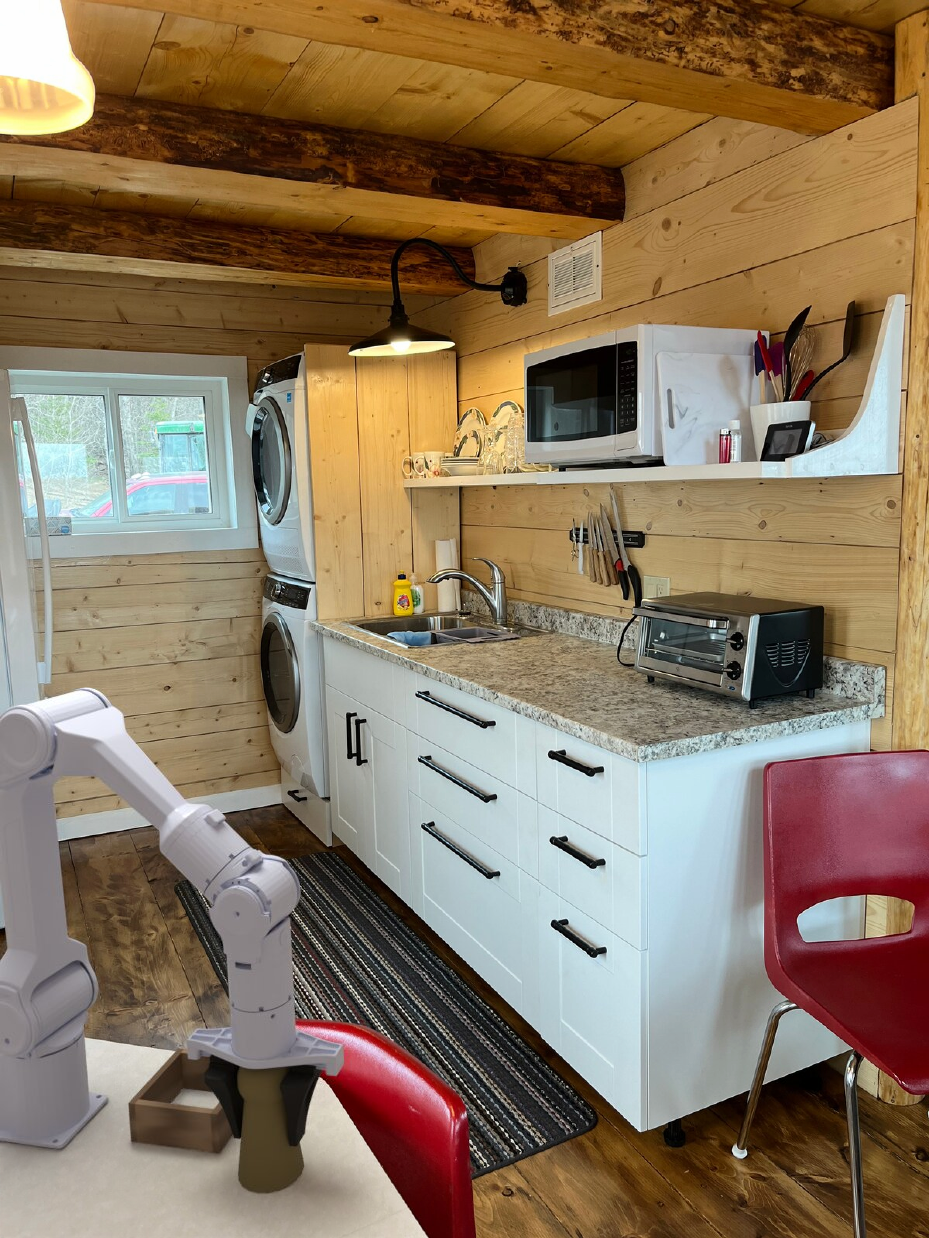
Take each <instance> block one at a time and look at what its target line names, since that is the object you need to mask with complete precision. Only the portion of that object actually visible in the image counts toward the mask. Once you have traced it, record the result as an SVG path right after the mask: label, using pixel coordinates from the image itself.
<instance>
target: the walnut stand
mask: <svg viewBox="0 0 929 1238" xmlns="http://www.w3.org/2000/svg"><path fill="white" fill-rule="evenodd" d="M209 1063H210V1057H206V1056H201V1058H200V1059H198V1060H193V1059H188V1051H187V1048H180V1047H179V1048H177V1049H176V1050H175V1052H173V1054H172V1055H171V1056H170V1057H169V1058H168V1059H167V1060H166V1061H165V1062H164V1063H163V1064H162V1066H160V1068H159V1069H158V1070H157V1071H156V1072H155V1073H154V1074H153V1075H152V1077H151V1078H149V1080H147V1082H146V1083H145V1084H144V1085H143V1086H142V1087H141V1089H140V1090H139V1091H137V1093H136V1094H135V1095H134V1096H133V1097H132V1098H131V1099H130V1101H129V1102H128V1103H127V1105H128V1117H129V1131H130V1141H131V1142H134V1143H142V1144H147V1145H156V1146H160V1147H161V1146H162V1147H167V1148H168V1147H169V1148H177V1149H184V1150H185V1149H186V1150H189V1151H190V1150H192V1151H197V1152H206V1153H213V1154H220V1153H221V1152H222V1151H223V1149H224V1148H225V1146H226V1145H227V1144H228V1143H229V1141H230V1140H231V1138H232V1137H233V1134H232V1131H231V1128H230V1125H229V1122H228V1120H227V1117H226V1115H225V1112H224V1110H223V1108H222V1106H221V1104H220V1102H219V1101H218V1102H217V1104H216V1106H214V1108H209V1107H202V1106H201V1107H200V1106H194V1105H185V1104H177V1103H172V1102H173V1101H174V1100H175V1098H176V1097H177V1096H178V1095H179V1094H180V1093H181V1092H182V1090H183V1089H189V1090H195V1091H202V1092H203V1091H204V1092H212V1091H211V1089H210V1088H209V1087H208V1086H207V1085H206V1084H205V1082H204V1073H205V1071H206V1070H207V1069H208V1068H209ZM212 1093H213V1092H212Z"/></svg>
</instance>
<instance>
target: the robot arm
mask: <svg viewBox="0 0 929 1238" xmlns="http://www.w3.org/2000/svg"><path fill="white" fill-rule="evenodd" d="M62 777H95V778H97V779H99V780H100V781H101V782H102V783H103V784H104V785H105V786H107V787H108V788H109V789H110V790H111V791H112V792H114V793H115V794H116V795H117V796H118V797H119V798H121V800H123V801H124V802H125V803H126V804H127V805H129V806H130V807H131V808H132V809H133V810H134V811H135V812H137V813H138V814H139V815H140V816H141V817H143V818H144V819H145V820H146V821H147V822H148V823H150V825H152V826H153V827H155V828H156V829H157V831H159V851H160V853H161V854H162V856H164V857H165V858H166V859H167V860H168V861H169V862H170V863H171V864H172V865H173V866H174V867H175V868H176V869H177V870H178V871H179V872H180V873H181V874H182V875H183V876H184V877H185V878H186V879H187V880H188V882H190V883H191V884H192V885H193V886H194V887H195V888H196V889H197V890H198V891H199V892H200V893H201V895H203V896H204V897H205V898H206V899H207V900H208V901H209V902H210V903H211V904H212V907H210V908H208V912H209V913H208V914H209V917H210V920H211V923H212V925H213V927H214V928H215V930H216V931H217V933H218V934H219V936H220V937H221V940H222V945H223V946H222V947H223V954H224V955H225V956H226V966H227V979H228V980H227V981H228V982H227V984H228V998H229V999H228V1001H229V1017H230V1026H229V1027H220V1028H218V1027H217V1028H196V1029H195V1030H194V1032H192V1034H191V1035H189V1037H188V1038H187V1039H186V1047H187V1048H186V1049H187V1051H188V1059H193V1060H198V1059H200V1058H201V1056H206V1057H210V1063H209V1068H208V1069H207V1070H206V1071H205V1073H204V1082H205V1084H206V1085H207V1086H208V1087H209V1088H210V1089H211V1091H212V1093H213V1094H214V1096H215V1097H216V1099H217V1100H218V1103H219V1102H220V1104H221V1106H222V1108H223V1110H224V1112H225V1115H226V1117H227V1120H228V1122H229V1125H230V1128H231V1131H232V1134H233V1135H232V1137H233V1138H234V1139H236V1140H241V1131H242V1118H243V1106H244V1098H243V1097H242V1096H241V1094H240V1092H239V1090H238V1084H237V1074H238V1070H239V1068H240V1066H241V1067H244V1068H248V1069H266V1068H276V1067H286V1066H290V1067H291V1070H290V1072H288V1073H287V1075H286V1076H285V1078H284V1079H283V1081H282V1082H281V1084H280V1090H281V1093H282V1095H283V1099H284V1102H285V1107H286V1112H287V1123H288V1140H289V1145H290V1146H295V1147H296V1146H298V1144H299V1143H300V1144H301V1141H302V1139H303V1137H304V1136H305V1134H306V1126H307V1120H308V1115H309V1110H310V1106H311V1102H312V1098H313V1095H314V1092H315V1089H316V1086H317V1083H318V1081H319V1079H320V1076H321V1074H322V1071H325V1074H326V1076H331V1077H332V1076H333V1077H334V1076H335V1077H337V1075H338V1074H339V1072H340V1071H341V1069H343V1066H344V1064H345V1058H344V1055H345V1054H344V1044H343V1043H339V1042H332V1041H330V1040H325V1039H323V1038H320V1037H319V1036H315V1035H312V1034H310V1033H307V1032H304V1031H302V1030H298V1029H297V1027H296V1014H295V1013H296V1012H295V1010H296V1009H295V992H294V987H295V986H294V972H293V971H294V970H293V968H294V967H293V951H292V950H293V949H292V948H293V946H292V932H291V931H292V930H291V917H289V915H290V914H291V913H292V912H293V910H294V909H295V908H296V907H297V905H298V904H299V901H300V900H301V899H300V898H301V885H300V881H299V878H298V876H297V873H296V872H295V870H293V868H292V867H291V866H290V864H289V863H288V861H287V860H286V859H284V858H282V857H281V856H277V855H274V854H265V853H263V852H262V850H260V849H258V850H257V849H256V848H255V849H254V848H253V847H251V845H250V844H249V843H247V841H245V840H244V838H243V837H241V835H239V834H238V833H237V831H235V830H234V829H233V827H231V825H230V824H228V823H227V822H226V821H225V820H226V818H227V817H226V816H225V815H224V814H223V812H221V811H220V810H219V809H218V808H215V809H213V808H212V807H211V806H210V805H208V804H206V803H205V804H204V803H200V804H199V803H189V802H187V800H186V799H185V798H184V797H183V796H182V794H180V792H179V791H178V790H177V789H176V788H175V787H174V785H173V784H172V783H171V782H170V781H169V780H168V778H167V777H166V776H165V775H164V774H163V773H162V771H160V769H159V768H158V767H157V766H156V764H154V762H153V761H152V760H151V759H150V758H149V757H148V756H147V755H146V753H145V752H144V751H143V750H142V749H141V747H140V746H139V745H138V744H137V742H135V741H134V739H133V738H132V737H131V736H130V735H129V734H128V732H127V729H126V724H125V716H124V714H123V712H122V711H120V710H119V709H118V708H117V707H115V706H114V705H112V704H111V702H110V700H109V699H108V698H107V697H106V696H105V695H104V694H103V693H102V692H101V691H100V690H97V689H94V688H92V687H81V688H78V689H77V688H76V689H73V691H71V692H68V693H64V694H60V695H57V696H52V697H50V698H45V699H43V700H38V701H35V702H31V703H26V704H19V705H13V706H10V707H9V708H7V709H6V710H5V711H3V713H1V714H0V893H1V894H0V895H1V901H2V910H3V920H4V921H3V922H4V927H5V929H4V930H5V938H6V946H7V949H6V951H5V953H4V955H3V956H2V957H1V958H0V1141H2V1142H8V1143H16V1144H23V1145H29V1146H34V1147H35V1146H36V1147H43V1148H50V1149H56V1150H58V1149H59V1150H60V1149H62V1148H64V1147H66V1145H67V1144H68V1143H69V1142H70V1141H71V1140H72V1139H73V1138H74V1137H75V1136H76V1135H77V1134H78V1133H79V1132H80V1131H81V1129H83V1127H84V1126H85V1125H87V1123H88V1122H89V1121H90V1120H91V1119H92V1118H93V1117H94V1116H95V1115H96V1114H97V1113H98V1112H99V1111H100V1109H101V1108H102V1107H103V1106H104V1105H106V1103H108V1101H109V1095H107V1094H104V1093H103V1094H102V1093H98V1092H97V1093H96V1092H90V1089H89V1075H88V1065H87V1064H88V1063H87V1050H86V1040H85V1039H86V1037H85V1025H86V1023H88V1021H89V1015H88V1014H89V1013H88V1010H89V1009H91V1008H92V1007H93V1006H94V1004H95V1003H96V1000H97V999H98V995H99V982H98V978H97V976H96V973H95V971H94V970H93V969H94V968H92V965H91V963H90V960H89V955H88V948H87V945H86V944H84V943H83V942H81V941H79V940H77V939H74V938H71V937H69V935H68V926H67V925H68V924H67V916H66V913H67V912H66V906H65V893H64V887H63V876H62V875H63V874H62V867H61V866H62V865H61V856H60V849H59V847H60V846H59V839H58V838H59V837H58V836H59V835H58V828H57V827H58V826H57V817H56V809H55V808H56V807H55V798H54V797H55V796H54V785H55V784H56V783H57V782H58V781H59V780H60V779H61V778H62ZM211 1091H210V1092H211Z"/></svg>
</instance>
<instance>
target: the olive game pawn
mask: <svg viewBox="0 0 929 1238" xmlns="http://www.w3.org/2000/svg"><path fill="white" fill-rule="evenodd" d="M290 1070H291V1067H290V1066H286V1067H276V1068H266V1069H248V1068H244V1067H241V1066H240V1068H239V1070H238V1074H237V1084H238V1090H239V1092H240V1094H241V1096H242V1097H243V1098H244V1106H243V1118H242V1131H241V1139H240V1145H239V1157H238V1167H237V1169H238V1170H237V1175H238V1176H237V1177H238V1182H239V1183H240V1185H241V1187H243V1188H244V1189H246V1190H248V1191H249V1192H252V1193H256V1194H272V1193H276V1192H280V1191H282V1190H284V1189H287V1188H288V1187H290V1186H292V1185H293V1184H294V1183H295V1182H297V1181H298V1180H299V1178H300V1177H301V1176H302V1174H303V1172H304V1170H305V1162H304V1157H303V1151H302V1147H301V1142H300V1143H299V1144H298V1146H296V1147H295V1146H290V1145H289V1140H288V1123H287V1112H286V1107H285V1102H284V1099H283V1095H282V1093H281V1090H280V1084H281V1082H282V1081H283V1079H284V1078H285V1076H286V1075H287V1073H288V1072H290Z"/></svg>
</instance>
